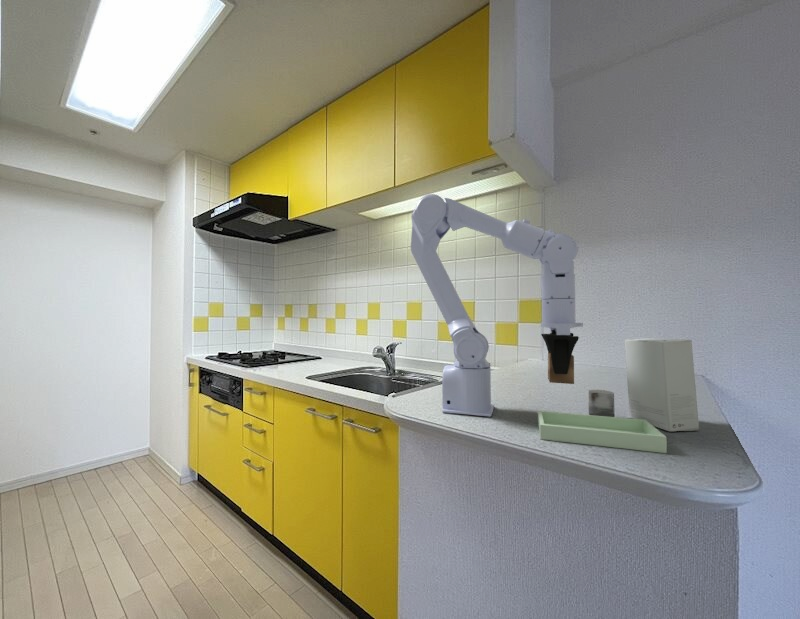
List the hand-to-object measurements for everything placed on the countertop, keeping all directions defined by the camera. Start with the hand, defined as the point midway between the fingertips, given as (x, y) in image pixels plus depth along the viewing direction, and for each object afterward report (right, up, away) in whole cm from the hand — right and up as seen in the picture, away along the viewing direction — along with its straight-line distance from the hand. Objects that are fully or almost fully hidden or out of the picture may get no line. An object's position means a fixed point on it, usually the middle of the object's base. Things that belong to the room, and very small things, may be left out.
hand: (559, 371), depth 62 cm
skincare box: (+15, -8, -5) cm, 18 cm away
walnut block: (0, -2, 0) cm, 2 cm away
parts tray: (+1, -8, -10) cm, 13 cm away
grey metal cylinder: (+7, -8, -2) cm, 11 cm away
